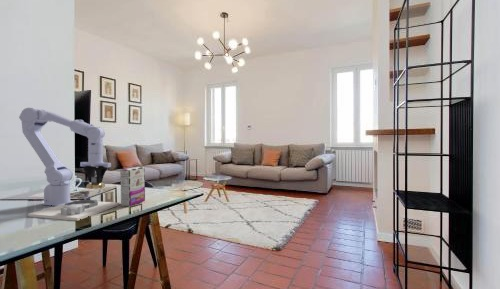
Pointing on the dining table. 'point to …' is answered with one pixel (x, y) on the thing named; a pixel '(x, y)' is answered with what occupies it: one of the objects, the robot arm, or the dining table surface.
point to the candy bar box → (132, 186)
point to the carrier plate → (74, 210)
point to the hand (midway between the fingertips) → (95, 182)
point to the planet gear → (95, 183)
